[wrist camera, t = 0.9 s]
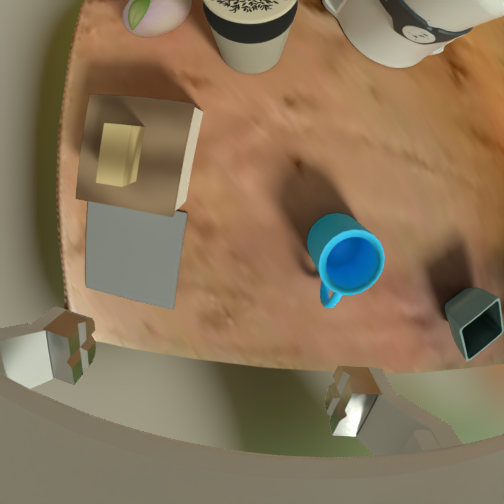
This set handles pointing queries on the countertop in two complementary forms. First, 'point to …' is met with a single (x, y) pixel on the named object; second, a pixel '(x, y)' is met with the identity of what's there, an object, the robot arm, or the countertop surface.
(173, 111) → the lid
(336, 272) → the mug
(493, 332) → the flower pot
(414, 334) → the countertop surface
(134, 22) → the decorative fruit
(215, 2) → the travel mug
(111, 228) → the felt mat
